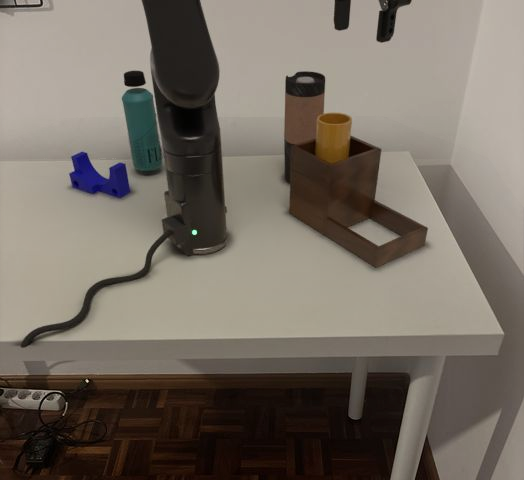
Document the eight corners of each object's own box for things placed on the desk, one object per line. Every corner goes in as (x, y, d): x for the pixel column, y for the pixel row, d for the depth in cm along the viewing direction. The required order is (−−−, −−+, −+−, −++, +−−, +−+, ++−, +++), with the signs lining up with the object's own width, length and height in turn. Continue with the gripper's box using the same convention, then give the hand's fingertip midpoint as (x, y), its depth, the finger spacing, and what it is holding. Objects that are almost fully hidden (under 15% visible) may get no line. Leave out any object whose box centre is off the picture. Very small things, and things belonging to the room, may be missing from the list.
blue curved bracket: (72, 187, 116) (65, 159, 112) (88, 179, 119) (82, 151, 115) (115, 201, 111) (109, 172, 107) (130, 192, 114) (125, 163, 110)
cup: (329, 180, 97) (332, 127, 91) (307, 168, 100) (310, 117, 94) (354, 171, 99) (359, 119, 93) (332, 160, 103) (336, 110, 97)
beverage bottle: (151, 180, 118) (135, 79, 105) (127, 173, 121) (109, 74, 107) (170, 169, 122) (157, 70, 109) (147, 162, 125) (132, 65, 112)
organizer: (376, 268, 92) (386, 194, 84) (289, 213, 107) (290, 145, 98) (424, 245, 97) (439, 174, 89) (335, 196, 112) (340, 130, 103)
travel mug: (321, 186, 115) (327, 83, 101) (283, 187, 115) (285, 83, 102) (319, 170, 120) (324, 70, 107) (283, 171, 121) (284, 71, 107)
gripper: (314, -116, 70) (308, 30, 81) (396, -112, 62) (378, 50, 72) (358, -118, 74) (347, 22, 84) (442, -115, 65) (418, 41, 76)
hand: (361, 35), depth 78 cm, fingers open, 8 cm apart
